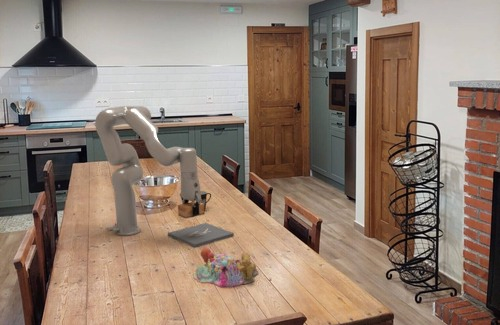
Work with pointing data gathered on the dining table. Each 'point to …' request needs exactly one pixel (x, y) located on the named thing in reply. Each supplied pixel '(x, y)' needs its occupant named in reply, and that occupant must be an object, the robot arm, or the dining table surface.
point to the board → (200, 234)
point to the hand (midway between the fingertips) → (191, 213)
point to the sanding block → (189, 210)
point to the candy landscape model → (225, 269)
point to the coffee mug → (204, 198)
